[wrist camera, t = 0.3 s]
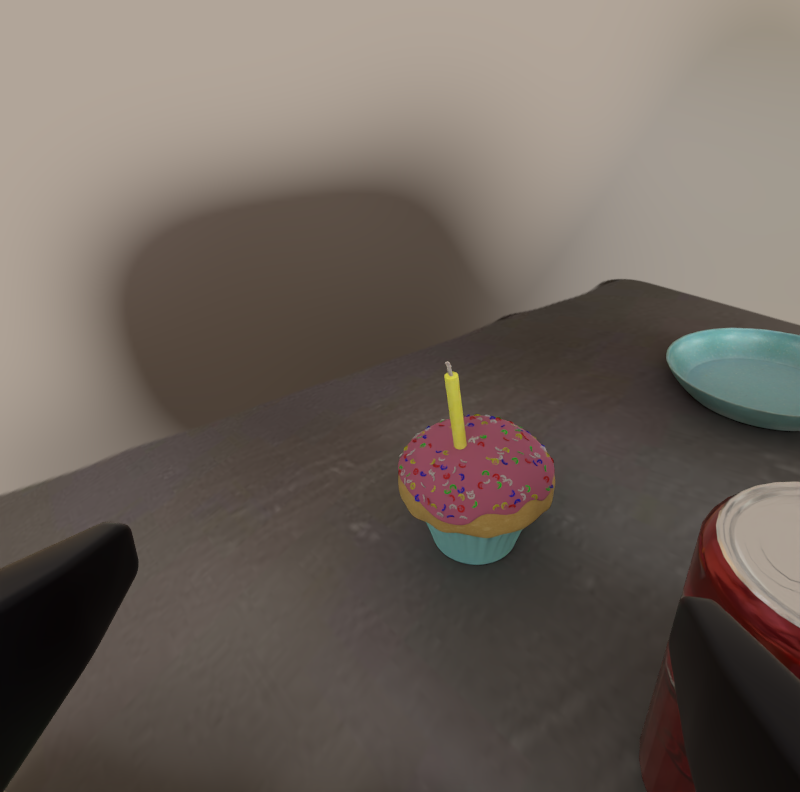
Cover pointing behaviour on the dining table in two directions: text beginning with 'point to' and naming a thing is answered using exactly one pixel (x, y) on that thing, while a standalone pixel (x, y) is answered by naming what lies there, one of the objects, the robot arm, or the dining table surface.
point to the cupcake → (475, 481)
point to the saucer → (742, 374)
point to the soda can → (733, 607)
